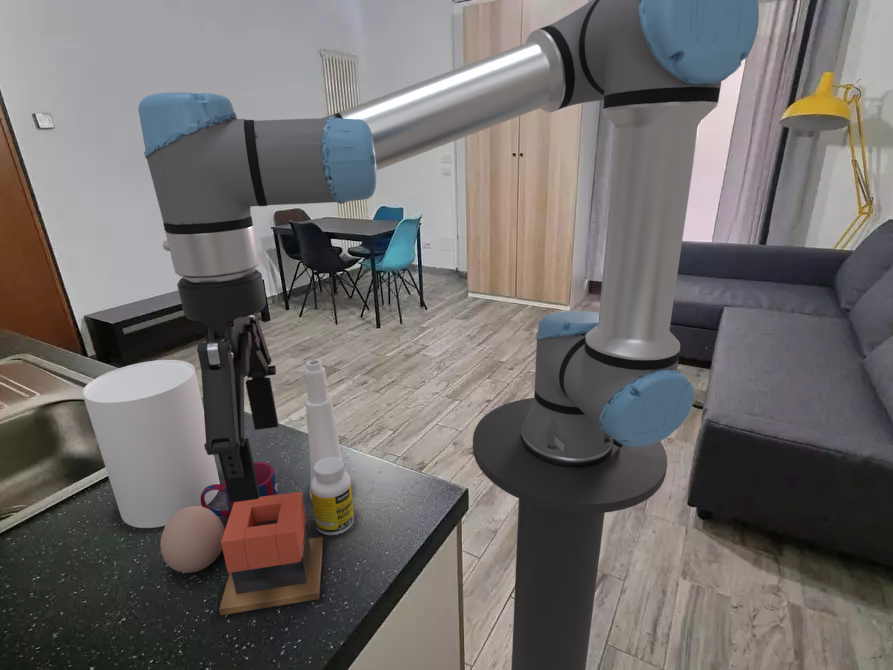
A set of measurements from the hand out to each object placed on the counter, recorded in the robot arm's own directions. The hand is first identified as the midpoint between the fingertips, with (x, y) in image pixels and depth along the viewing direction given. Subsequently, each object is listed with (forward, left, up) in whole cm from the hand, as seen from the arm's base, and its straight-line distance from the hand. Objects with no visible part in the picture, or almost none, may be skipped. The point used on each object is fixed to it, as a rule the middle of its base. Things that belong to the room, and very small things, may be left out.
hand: (257, 458), depth 54 cm
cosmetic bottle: (-6, -15, -17) cm, 24 cm away
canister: (+18, -19, -17) cm, 32 cm away
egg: (+10, -4, -17) cm, 21 cm away
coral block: (0, 0, -12) cm, 12 cm away
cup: (+6, -12, -17) cm, 22 cm away
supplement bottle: (-7, -8, -17) cm, 20 cm away
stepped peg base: (0, 0, -17) cm, 17 cm away
